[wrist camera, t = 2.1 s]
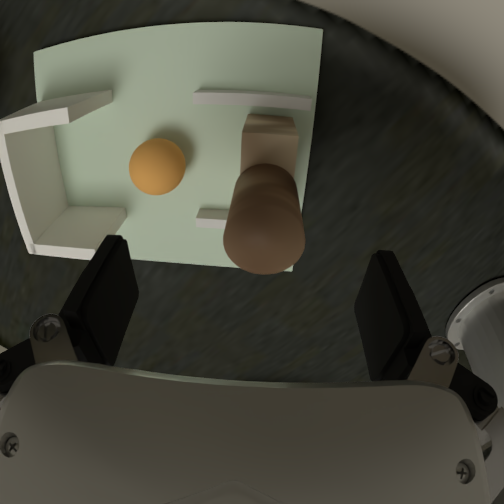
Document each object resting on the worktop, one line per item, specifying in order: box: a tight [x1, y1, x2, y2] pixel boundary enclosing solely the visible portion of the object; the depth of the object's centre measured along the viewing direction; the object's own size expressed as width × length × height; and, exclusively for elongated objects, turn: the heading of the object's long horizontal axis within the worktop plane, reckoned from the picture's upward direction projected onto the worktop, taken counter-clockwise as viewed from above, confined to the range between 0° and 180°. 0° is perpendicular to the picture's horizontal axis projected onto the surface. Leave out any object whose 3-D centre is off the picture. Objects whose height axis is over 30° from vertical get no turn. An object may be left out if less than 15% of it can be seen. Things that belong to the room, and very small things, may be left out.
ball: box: [129, 138, 186, 195], centre depth 21 cm, size 4×4×4 cm
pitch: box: [0, 22, 323, 271], centre depth 20 cm, size 22×20×7 cm
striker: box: [223, 114, 305, 274], centre depth 18 cm, size 4×7×10 cm, turn 177°
